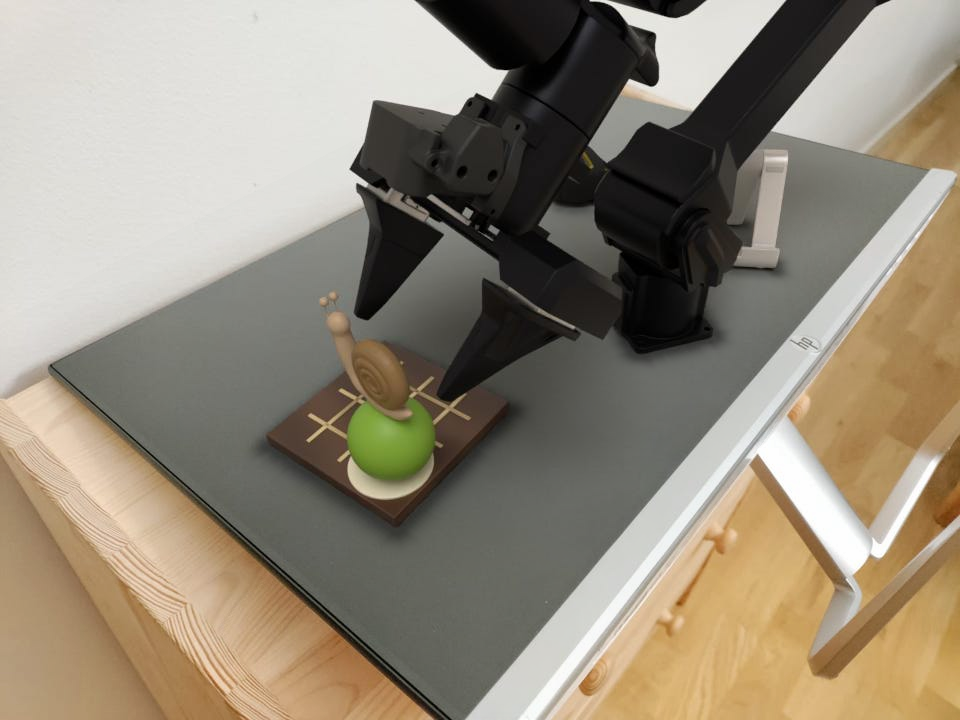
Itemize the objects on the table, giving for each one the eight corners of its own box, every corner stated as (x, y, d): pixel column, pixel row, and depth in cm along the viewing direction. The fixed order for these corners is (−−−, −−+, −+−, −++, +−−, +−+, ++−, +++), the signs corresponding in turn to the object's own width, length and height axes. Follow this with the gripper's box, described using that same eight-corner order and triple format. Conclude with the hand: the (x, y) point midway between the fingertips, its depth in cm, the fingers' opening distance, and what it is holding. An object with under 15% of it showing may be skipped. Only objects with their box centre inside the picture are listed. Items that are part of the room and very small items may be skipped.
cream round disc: (425, 433, 49) (423, 422, 48) (444, 496, 45) (442, 485, 44) (345, 453, 48) (342, 442, 47) (357, 519, 44) (353, 507, 43)
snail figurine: (391, 414, 49) (362, 271, 41) (456, 461, 45) (439, 315, 37) (328, 460, 46) (284, 316, 38) (393, 514, 43) (359, 368, 35)
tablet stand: (670, 267, 62) (684, 180, 56) (668, 220, 68) (680, 137, 62) (774, 273, 60) (798, 184, 55) (763, 224, 66) (784, 139, 61)
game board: (386, 349, 56) (384, 338, 55) (509, 410, 50) (509, 400, 49) (268, 444, 49) (264, 433, 48) (396, 527, 43) (393, 517, 43)
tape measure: (619, 201, 71) (622, 167, 68) (555, 215, 69) (556, 180, 67) (590, 172, 76) (592, 138, 73) (530, 184, 74) (530, 151, 72)
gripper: (349, -10, 38) (216, 242, 41) (589, 86, 26) (379, 428, 29) (478, 94, 46) (360, 297, 49) (702, 201, 35) (530, 458, 38)
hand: (398, 355), depth 41 cm, fingers open, 9 cm apart
